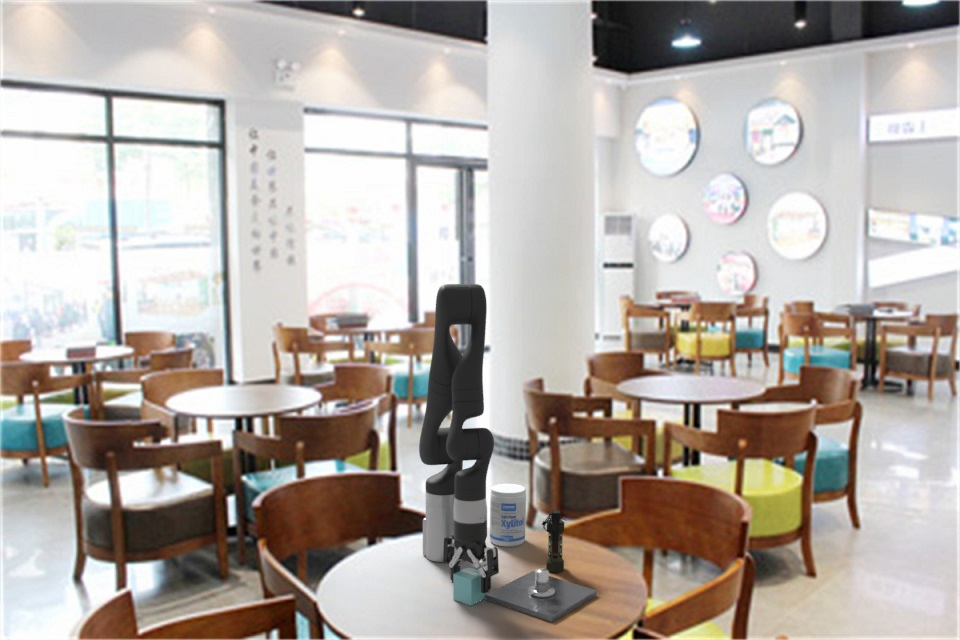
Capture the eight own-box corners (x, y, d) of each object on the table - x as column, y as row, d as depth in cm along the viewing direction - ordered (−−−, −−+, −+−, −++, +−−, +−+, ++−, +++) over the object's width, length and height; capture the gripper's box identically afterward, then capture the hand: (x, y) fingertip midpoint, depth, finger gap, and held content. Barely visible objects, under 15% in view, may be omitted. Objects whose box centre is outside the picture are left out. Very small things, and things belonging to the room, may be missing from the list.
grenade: (565, 576, 209) (566, 515, 207) (540, 575, 209) (541, 514, 208) (565, 566, 215) (566, 507, 214) (541, 565, 216) (542, 506, 215)
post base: (485, 599, 195) (485, 572, 195) (532, 575, 209) (532, 550, 208) (551, 622, 184) (552, 593, 183) (596, 595, 198) (597, 568, 197)
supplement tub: (503, 550, 226) (504, 495, 225) (482, 540, 234) (482, 486, 232) (532, 543, 232) (533, 489, 230) (511, 533, 239) (511, 481, 238)
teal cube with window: (453, 599, 195) (453, 572, 195) (468, 592, 199) (468, 565, 199) (471, 606, 192) (471, 578, 191) (485, 598, 196) (486, 571, 195)
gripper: (435, 514, 195) (435, 585, 196) (484, 527, 186) (484, 600, 187) (457, 507, 201) (457, 575, 202) (505, 519, 192) (505, 590, 193)
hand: (470, 587), depth 195 cm, fingers open, 8 cm apart
